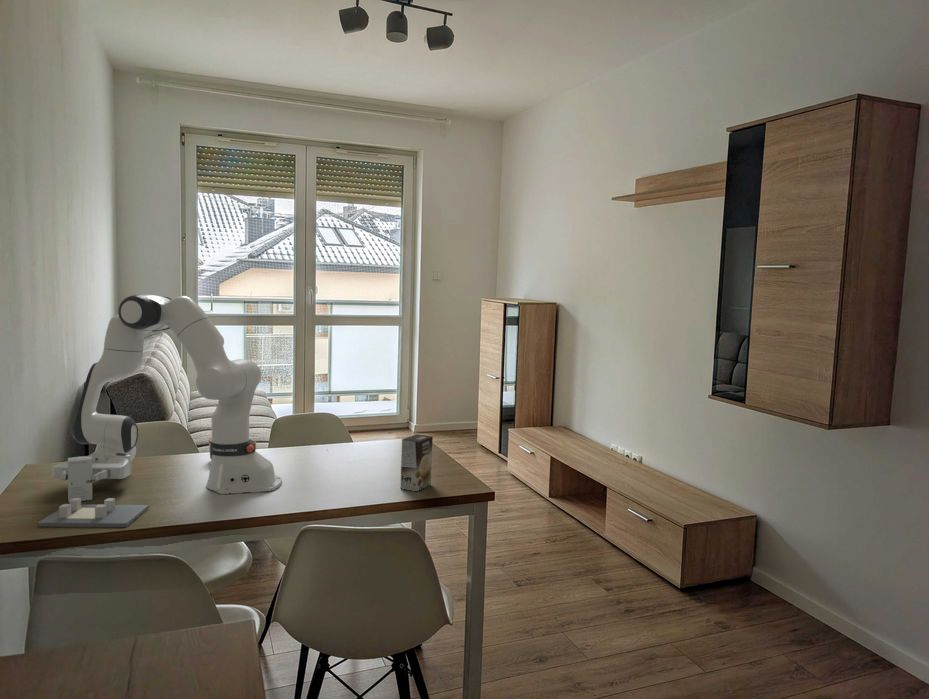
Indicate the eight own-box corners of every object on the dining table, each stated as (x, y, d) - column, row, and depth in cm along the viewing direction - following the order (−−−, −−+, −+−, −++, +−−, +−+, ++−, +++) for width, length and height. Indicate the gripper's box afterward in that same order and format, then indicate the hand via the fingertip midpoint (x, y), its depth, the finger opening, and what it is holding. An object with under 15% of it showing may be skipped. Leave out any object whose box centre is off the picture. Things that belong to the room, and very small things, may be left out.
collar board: (149, 508, 183) (148, 494, 182) (126, 527, 169) (126, 512, 168) (67, 507, 181) (66, 493, 181) (37, 526, 167) (37, 511, 167)
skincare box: (68, 503, 184) (67, 461, 183) (67, 498, 188) (66, 457, 187) (93, 499, 188) (92, 458, 187) (92, 495, 192) (91, 454, 190)
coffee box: (417, 492, 204) (418, 441, 202) (399, 489, 207) (401, 439, 205) (431, 484, 212) (433, 436, 210) (414, 481, 215) (415, 433, 213)
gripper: (66, 453, 199) (40, 466, 185) (135, 454, 201) (114, 467, 187) (67, 474, 200) (40, 488, 186) (136, 474, 201) (115, 488, 187)
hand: (78, 477), depth 186 cm, fingers open, 7 cm apart
